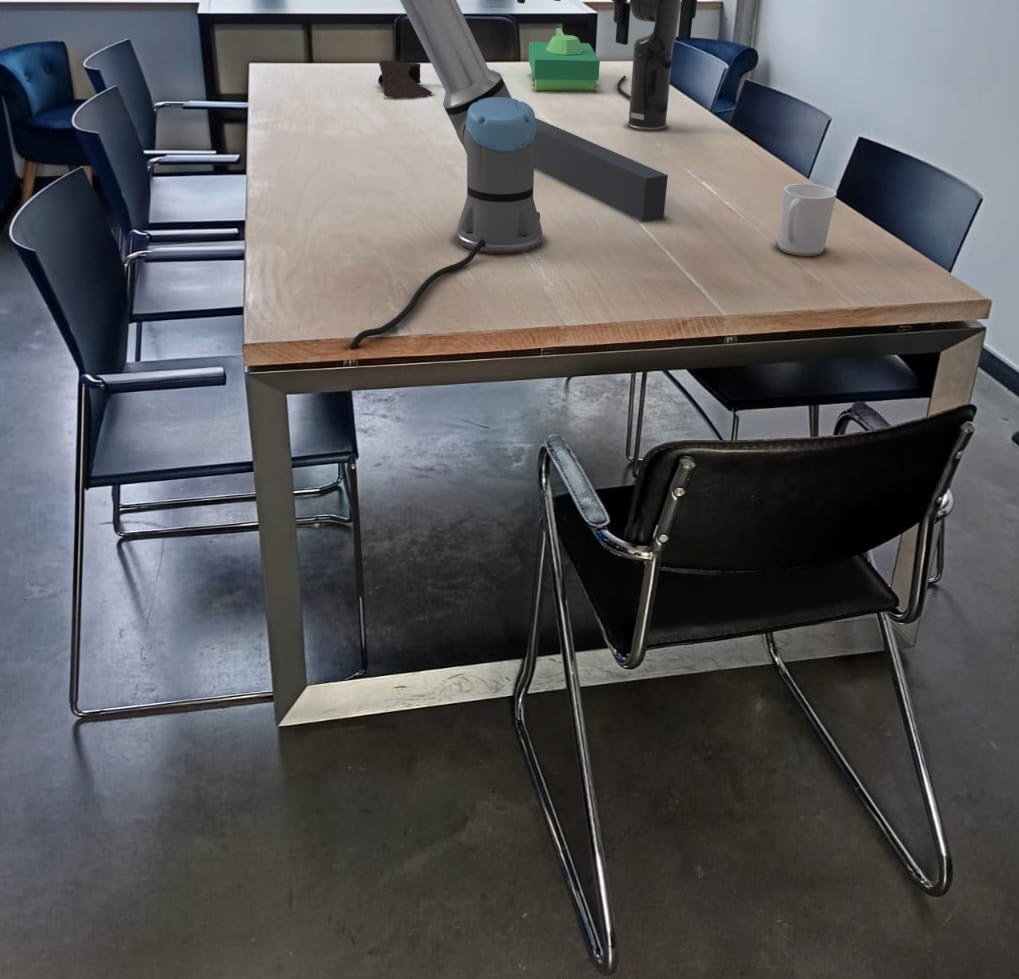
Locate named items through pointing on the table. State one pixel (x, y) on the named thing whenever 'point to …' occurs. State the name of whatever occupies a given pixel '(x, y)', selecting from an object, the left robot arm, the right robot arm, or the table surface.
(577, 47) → the toy tank
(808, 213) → the mug
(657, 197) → the beam
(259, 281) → the table surface
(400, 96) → the axe head
